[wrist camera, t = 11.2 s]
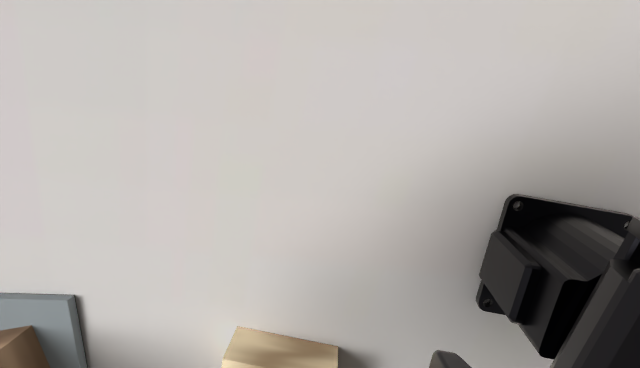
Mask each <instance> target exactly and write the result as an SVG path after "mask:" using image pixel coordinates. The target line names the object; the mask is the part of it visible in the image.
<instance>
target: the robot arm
mask: <svg viewBox="0 0 640 368" xmlns="http://www.w3.org/2000/svg"><path fill="white" fill-rule="evenodd" d="M517 201H520V206H519V207H517V208H513V205H514V203H515V202H517ZM627 221H629V224H628V226H627V227H625V228H624V224H625V223H626V222H627ZM479 276H480V278H481V279H482V280H481V283H480V287H479V290H478V293H477V296H476V302H477V304H478V306H479V308H480V309H482V310H483V311H487V312H492V313H498V314H503V315H506V316H507V317H508V319H509V320H510V321H511V322H512V323H516V324H518V325H519V326H520V328H521V329H522V330H523V332H524V333H525V335H526V336H527V337H528V339H529V340H530V342H531V343H532V344H533V346H534V347H535V349H536V350H537V351H538V353H539V354H540V356H542V357H544V358H550V359H554V361H553V363H552V365H551V366H550V368H640V218H637V217H634V216H632V215H629V214H626V213H621V212H615V211H609V210H604V209H598V208H593V207H587V206H581V205H576V204H570V203H564V202H559V201H553V200H548V199H542V198H536V197H531V196H525V195H519V194H513V195H511V196H509V197H508V198H507V199H506V201H505V204H504V207H503V211H502V214H501V217H500V221H499V224H498V227H497V230H496V231H494V232H493V233H492V234H491V237H490V240H489V243H488V247H487V250H486V253H485V257H484V260H483V263H482V267H481V270H480V273H479ZM486 299H490V301H489V302H488V303H483V302H484V300H486ZM429 368H472V367H470V366H469V365H468V364H467V363H466V362H465V361H464V360H463V359H462V358H461V357H460V356H458V355H457V354H455V353H452V352H446V351H440V350H437V351H435V352H434V354H433V356H432V359H431V362H430V366H429Z"/></svg>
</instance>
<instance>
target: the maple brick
mask: <svg viewBox="0 0 640 368" xmlns="http://www.w3.org/2000/svg"><path fill="white" fill-rule="evenodd" d="M337 367H338V346H333V345H328V344H323V343H318V342H313V341H308V340H303V339H298V338H293V337H288V336H283V335H278V334H273V333H268V332H263V331H258V330H253V329H248V328H243V327H238V326H237V328H236V330H235V333H234V335H233V337H232V339H231V342H230V344H229V346H228V348H227V351H226V353H225V355H224V357H223V361H222V368H337Z"/></svg>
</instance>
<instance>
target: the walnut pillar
mask: <svg viewBox="0 0 640 368" xmlns="http://www.w3.org/2000/svg"><path fill="white" fill-rule="evenodd" d="M0 368H50V366H49V363H48V361H47V359H46V356H45V354H44V352H43V350H42V347H41V345H40V343H39V341H38V338H37V336H36V334H35V331H34V329H33V327H32V325H30V326H24V327H18V328H12V329H6V330H0Z"/></svg>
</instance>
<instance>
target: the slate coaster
mask: <svg viewBox="0 0 640 368" xmlns="http://www.w3.org/2000/svg"><path fill="white" fill-rule="evenodd" d="M30 325H32V327H33V329H34V331H35V334H36V336H37V338H38V341H39V343H40V345H41V347H42V350H43V352H44V354H45V356H46V359H47V361H48V363H49V366H50V368H87V363H86V358H85V352H84V347H83V341H82V336H81V330H80V325H79V319H78V314H77V308H76V303H75V297H74V295H54V294H17V293H0V330H6V329H12V328H18V327H24V326H30Z"/></svg>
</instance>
